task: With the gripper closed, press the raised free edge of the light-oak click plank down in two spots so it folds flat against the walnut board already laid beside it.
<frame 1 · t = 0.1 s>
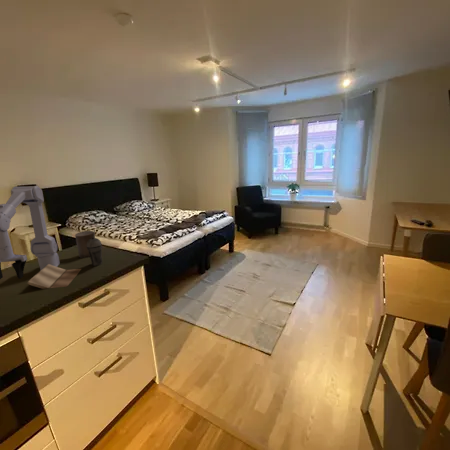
hand: (10, 278, 100), 10 cm above the countertop, fingers open, 7 cm apart
laid board: (67, 279, 119), on the countertop
beverage cup: (97, 266, 134), on the countertop
plank: (48, 276, 117), point 3 cm above the countertop, hinge at 28.0°
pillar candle: (88, 255, 148), on the countertop
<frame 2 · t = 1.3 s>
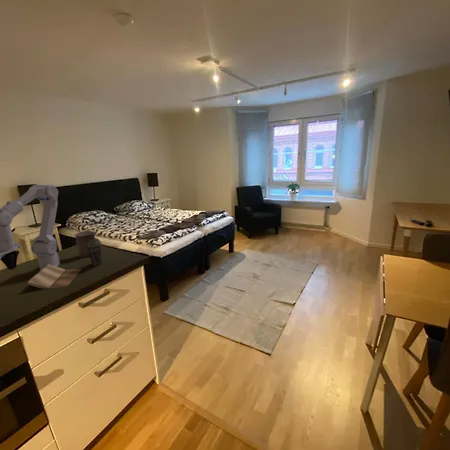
hand: (12, 268, 110), 9 cm above the countertop, fingers closed
nothing on the countertop moved.
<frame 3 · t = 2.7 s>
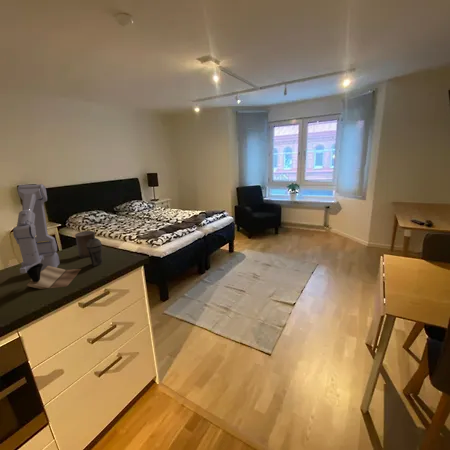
hand: (36, 280, 110), 4 cm above the countertop, fingers closed, pressing on plank
plank: (47, 277, 117), point 2 cm above the countertop, hinge at 21.7°, touching gripper
everything else where it was.
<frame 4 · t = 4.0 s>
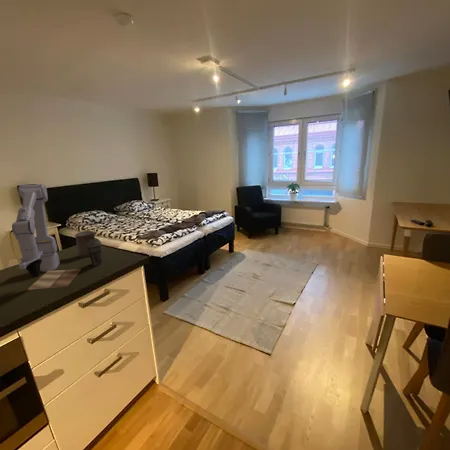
hand: (35, 276, 110), 6 cm above the countertop, fingers closed
plank: (48, 280, 117), point 1 cm above the countertop, hinge at 2.7°
everything else where it was.
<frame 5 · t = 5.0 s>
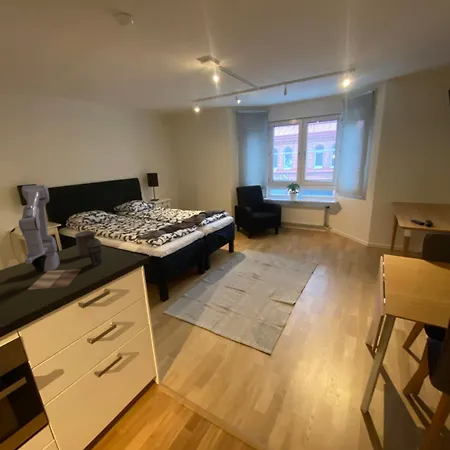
hand: (41, 271, 114), 6 cm above the countertop, fingers closed
nothing on the countertop moved.
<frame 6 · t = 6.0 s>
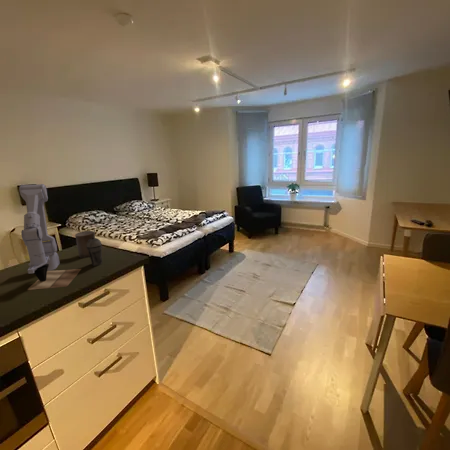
hand: (43, 280, 115), 1 cm above the countertop, fingers closed, pressing on plank
plank: (48, 280, 117), point 1 cm above the countertop, hinge at 2.7°, touching gripper
everything else where it was.
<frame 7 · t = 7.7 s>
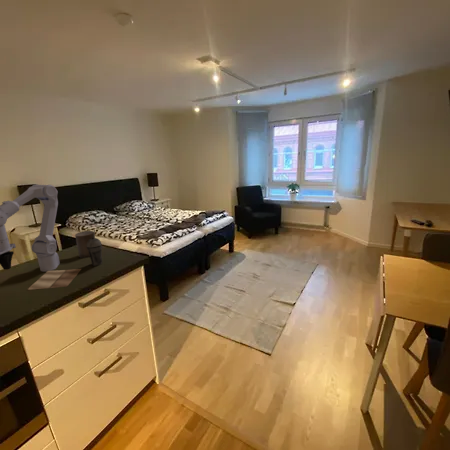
hand: (7, 268, 109), 9 cm above the countertop, fingers closed
plank: (48, 280, 117), point 1 cm above the countertop, hinge at 2.7°
everything else where it was.
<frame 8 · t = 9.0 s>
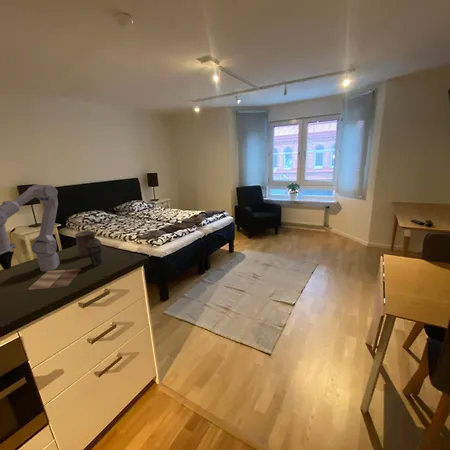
hand: (7, 268, 109), 9 cm above the countertop, fingers closed
nothing on the countertop moved.
at the end: plank at +3° (first picture: +28°); the gripper is holding nothing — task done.
